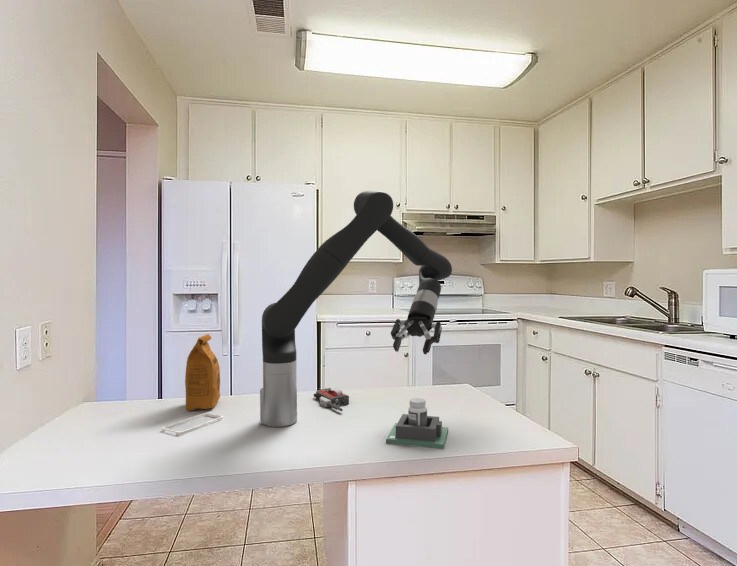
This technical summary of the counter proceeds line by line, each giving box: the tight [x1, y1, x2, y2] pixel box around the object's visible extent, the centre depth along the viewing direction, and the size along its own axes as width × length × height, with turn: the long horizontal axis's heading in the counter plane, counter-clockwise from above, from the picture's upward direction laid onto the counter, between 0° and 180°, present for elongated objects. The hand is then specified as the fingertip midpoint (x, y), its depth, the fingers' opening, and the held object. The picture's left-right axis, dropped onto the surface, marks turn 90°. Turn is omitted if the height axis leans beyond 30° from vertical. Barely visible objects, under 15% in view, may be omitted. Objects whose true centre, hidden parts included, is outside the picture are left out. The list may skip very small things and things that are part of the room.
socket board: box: [385, 413, 449, 449], centre depth 114 cm, size 14×12×4 cm
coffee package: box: [184, 333, 221, 412], centre depth 141 cm, size 10×12×22 cm
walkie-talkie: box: [313, 387, 350, 412], centre depth 143 cm, size 9×4×20 cm
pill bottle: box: [407, 397, 428, 426], centre depth 114 cm, size 5×5×8 cm
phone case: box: [161, 412, 224, 436], centre depth 124 cm, size 7×1×15 cm
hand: (410, 351), depth 127 cm, fingers open, 8 cm apart
